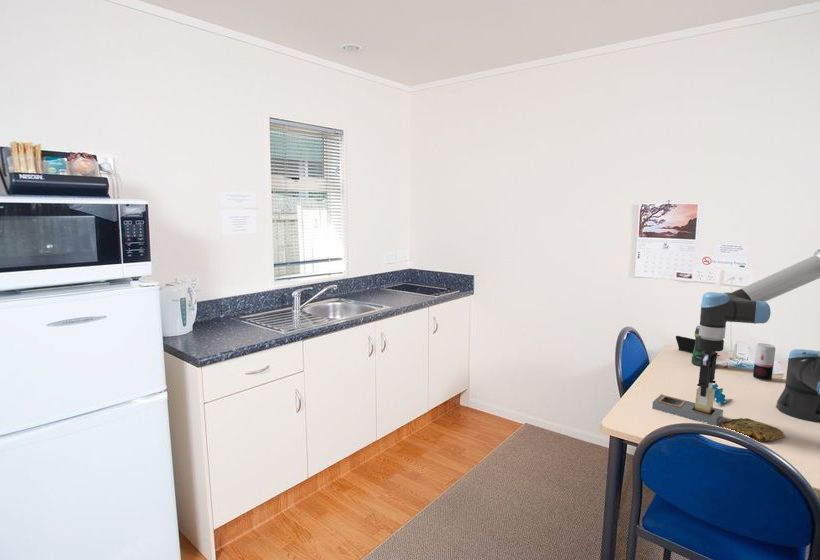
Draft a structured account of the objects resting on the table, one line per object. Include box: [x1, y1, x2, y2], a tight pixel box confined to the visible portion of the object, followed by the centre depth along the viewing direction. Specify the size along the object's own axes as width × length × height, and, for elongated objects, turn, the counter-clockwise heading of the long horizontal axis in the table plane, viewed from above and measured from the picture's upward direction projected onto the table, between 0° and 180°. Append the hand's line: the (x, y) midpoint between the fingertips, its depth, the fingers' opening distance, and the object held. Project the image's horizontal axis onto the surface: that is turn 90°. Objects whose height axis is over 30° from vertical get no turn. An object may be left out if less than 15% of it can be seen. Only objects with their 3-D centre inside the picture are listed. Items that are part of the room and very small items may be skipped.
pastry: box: [720, 417, 785, 442], centre depth 153 cm, size 17×17×3 cm
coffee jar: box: [690, 325, 704, 367], centre depth 219 cm, size 10×8×19 cm
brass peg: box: [694, 386, 715, 415], centre depth 163 cm, size 4×4×10 cm
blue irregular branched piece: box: [712, 383, 727, 405], centre depth 179 cm, size 11×6×10 cm
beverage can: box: [752, 342, 777, 382], centre depth 202 cm, size 7×7×15 cm
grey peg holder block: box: [652, 394, 724, 426], centre depth 167 cm, size 20×10×3 cm, turn 46°
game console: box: [675, 335, 719, 355], centre depth 239 cm, size 16×14×9 cm
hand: (704, 402), depth 163 cm, fingers closed on brass peg, 4 cm apart
